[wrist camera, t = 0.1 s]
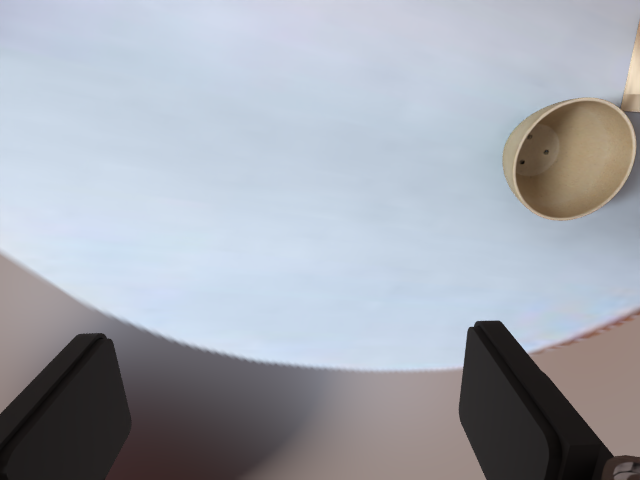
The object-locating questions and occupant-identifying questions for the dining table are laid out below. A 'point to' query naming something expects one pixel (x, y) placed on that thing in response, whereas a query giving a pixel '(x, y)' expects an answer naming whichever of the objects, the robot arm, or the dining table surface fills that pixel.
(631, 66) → the bay
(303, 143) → the dining table surface
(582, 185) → the flower pot
